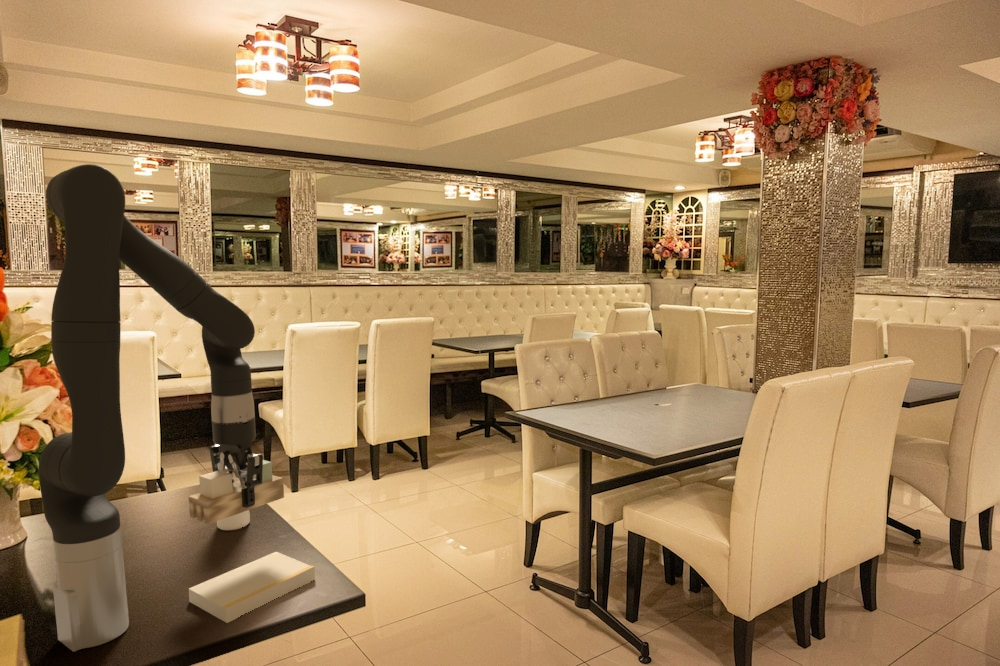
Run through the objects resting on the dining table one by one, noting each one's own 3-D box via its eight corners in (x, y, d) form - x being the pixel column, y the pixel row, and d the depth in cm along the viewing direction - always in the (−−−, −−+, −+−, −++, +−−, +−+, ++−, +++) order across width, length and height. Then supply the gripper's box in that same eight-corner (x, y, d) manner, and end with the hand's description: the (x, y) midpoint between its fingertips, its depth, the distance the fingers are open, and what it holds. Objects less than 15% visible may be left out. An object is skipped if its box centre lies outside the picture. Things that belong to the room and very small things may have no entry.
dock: (227, 623, 110) (226, 608, 110) (189, 601, 117) (188, 588, 117) (315, 579, 124) (314, 566, 124) (276, 563, 131) (276, 551, 131)
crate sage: (254, 485, 126) (253, 467, 125) (242, 481, 128) (241, 463, 128) (272, 479, 129) (271, 462, 129) (260, 475, 131) (259, 458, 131)
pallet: (208, 524, 117) (206, 502, 117) (190, 517, 121) (188, 496, 120) (284, 497, 130) (283, 477, 130) (265, 491, 134) (264, 472, 133)
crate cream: (212, 498, 119) (211, 479, 118) (200, 494, 121) (199, 475, 121) (232, 492, 122) (231, 473, 122) (220, 488, 124) (219, 470, 124)
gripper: (193, 415, 125) (199, 501, 127) (237, 425, 116) (243, 517, 118) (229, 408, 131) (234, 490, 133) (274, 417, 122) (278, 504, 124)
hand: (238, 502), depth 125 cm, fingers closed on pallet, 6 cm apart
